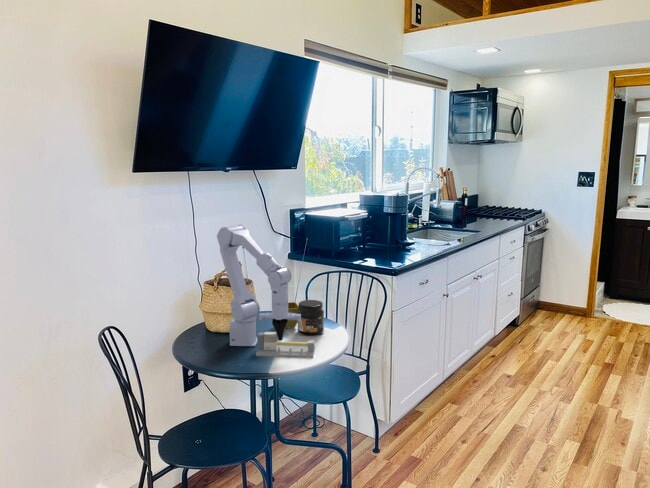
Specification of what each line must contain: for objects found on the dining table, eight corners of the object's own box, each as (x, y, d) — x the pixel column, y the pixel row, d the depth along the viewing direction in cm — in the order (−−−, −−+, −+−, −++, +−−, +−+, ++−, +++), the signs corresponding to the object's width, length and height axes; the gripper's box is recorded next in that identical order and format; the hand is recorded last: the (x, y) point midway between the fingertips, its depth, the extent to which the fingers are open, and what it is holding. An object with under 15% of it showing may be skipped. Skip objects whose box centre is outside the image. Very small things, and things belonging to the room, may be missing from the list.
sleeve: (264, 349, 174) (263, 334, 173) (265, 346, 177) (265, 331, 176) (276, 350, 174) (276, 334, 173) (277, 347, 177) (277, 331, 176)
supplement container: (294, 335, 191) (293, 305, 190) (301, 326, 202) (301, 298, 200) (320, 337, 189) (320, 307, 187) (326, 328, 199) (326, 300, 197)
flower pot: (300, 329, 199) (300, 307, 197) (279, 331, 197) (278, 309, 195) (295, 322, 207) (295, 301, 206) (275, 324, 205) (275, 303, 203)
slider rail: (255, 356, 171) (255, 338, 170) (260, 346, 180) (260, 329, 179) (313, 357, 170) (313, 339, 169) (315, 347, 179) (315, 330, 178)
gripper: (257, 305, 169) (258, 342, 171) (299, 306, 168) (299, 343, 170) (261, 299, 176) (261, 335, 178) (301, 300, 175) (301, 336, 177)
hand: (280, 339), depth 174 cm, fingers closed
